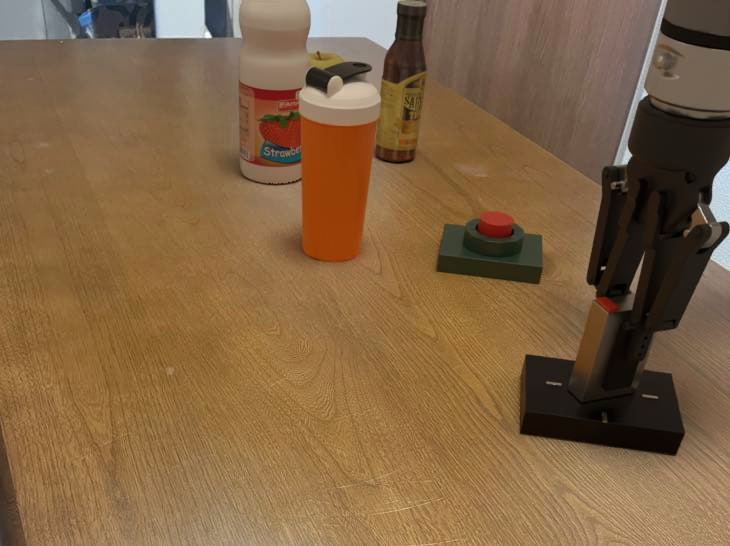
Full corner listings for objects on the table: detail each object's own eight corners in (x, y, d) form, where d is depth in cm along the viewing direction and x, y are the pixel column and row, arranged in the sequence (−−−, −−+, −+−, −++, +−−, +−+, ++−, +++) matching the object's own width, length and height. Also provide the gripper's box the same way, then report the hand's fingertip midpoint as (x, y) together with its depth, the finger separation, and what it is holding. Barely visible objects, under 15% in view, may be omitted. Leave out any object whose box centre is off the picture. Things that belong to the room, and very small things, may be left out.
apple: (292, 93, 149) (294, 41, 144) (349, 97, 149) (352, 45, 144) (288, 112, 142) (289, 57, 136) (348, 116, 142) (351, 62, 136)
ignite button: (511, 227, 104) (514, 213, 103) (510, 241, 101) (513, 227, 100) (478, 223, 104) (480, 209, 103) (476, 237, 101) (479, 223, 100)
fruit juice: (273, 155, 127) (276, -77, 108) (320, 174, 123) (331, -64, 104) (225, 170, 122) (219, -71, 103) (272, 191, 118) (275, -57, 98)
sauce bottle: (403, 167, 126) (420, 11, 113) (366, 157, 129) (379, 2, 115) (423, 154, 131) (442, 2, 117) (387, 145, 133) (402, -5, 119)
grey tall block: (620, 379, 82) (650, 288, 76) (636, 392, 81) (667, 301, 74) (566, 389, 81) (593, 297, 74) (581, 403, 79) (609, 310, 73)
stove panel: (663, 394, 85) (672, 371, 84) (676, 456, 78) (686, 432, 76) (520, 375, 87) (526, 351, 85) (519, 434, 79) (525, 410, 77)
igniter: (538, 251, 108) (545, 220, 105) (538, 284, 101) (546, 252, 99) (442, 240, 109) (446, 208, 106) (436, 272, 102) (441, 239, 100)
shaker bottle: (383, 250, 106) (401, 70, 92) (334, 273, 101) (346, 85, 87) (328, 227, 110) (337, 51, 96) (279, 248, 105) (281, 65, 91)
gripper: (590, 74, 68) (527, 341, 84) (722, 143, 57) (621, 433, 73) (668, 69, 70) (592, 330, 86) (809, 134, 59) (693, 418, 76)
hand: (605, 377), depth 80 cm, fingers closed on grey tall block, 2 cm apart
